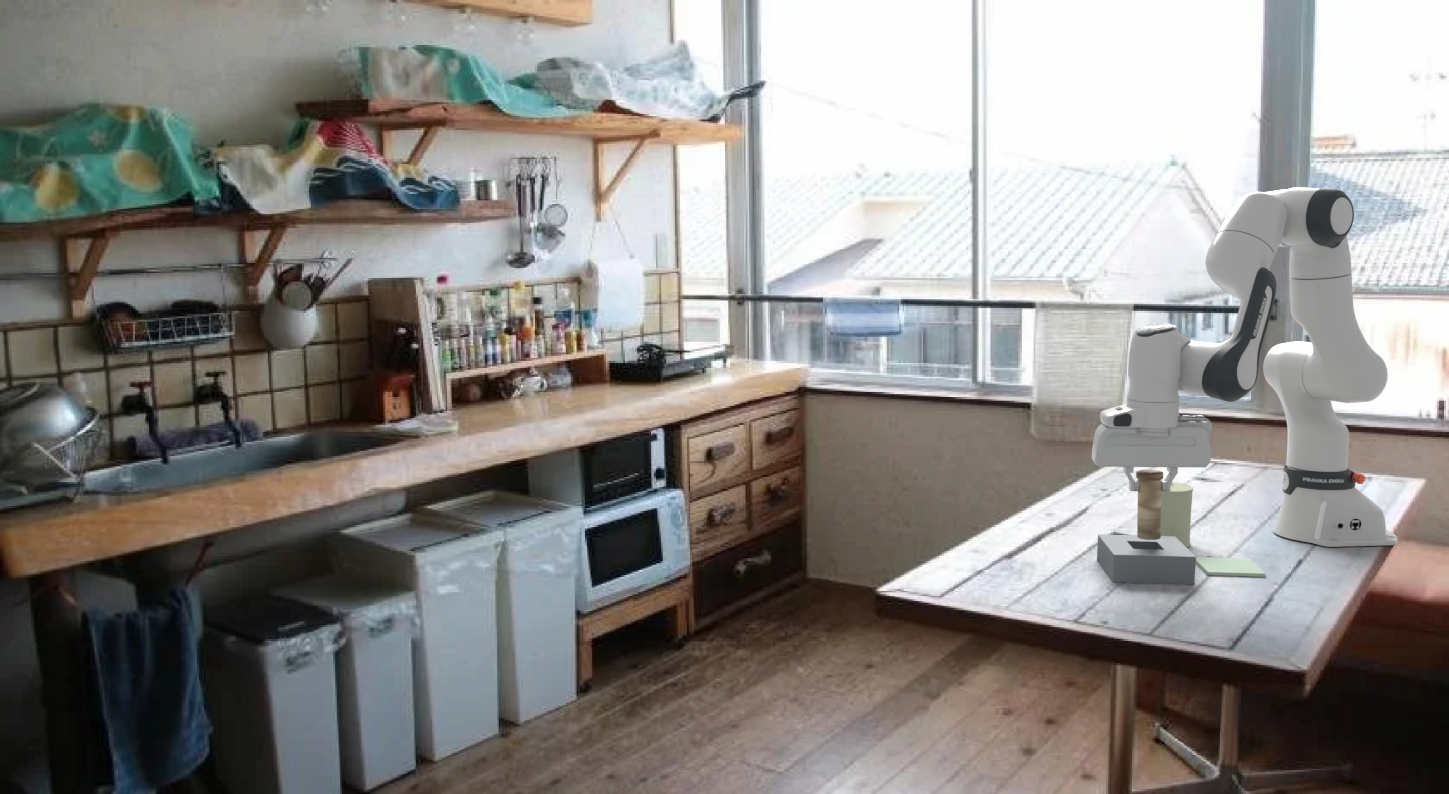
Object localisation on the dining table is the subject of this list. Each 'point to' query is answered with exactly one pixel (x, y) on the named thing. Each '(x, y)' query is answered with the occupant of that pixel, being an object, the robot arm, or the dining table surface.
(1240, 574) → the mat
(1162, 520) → the can
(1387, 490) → the dining table surface
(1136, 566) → the socket
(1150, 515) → the plug
